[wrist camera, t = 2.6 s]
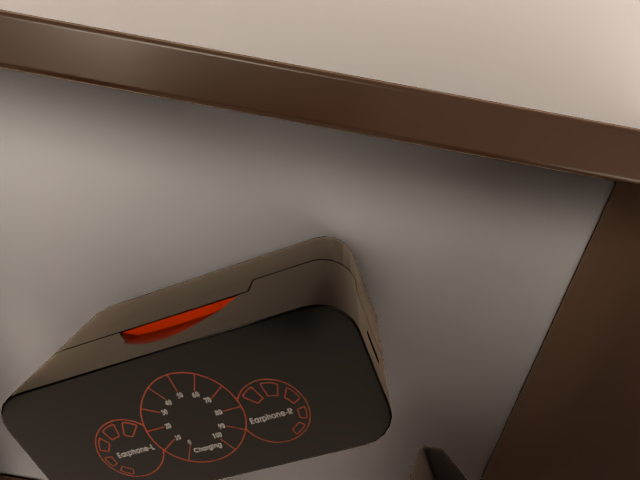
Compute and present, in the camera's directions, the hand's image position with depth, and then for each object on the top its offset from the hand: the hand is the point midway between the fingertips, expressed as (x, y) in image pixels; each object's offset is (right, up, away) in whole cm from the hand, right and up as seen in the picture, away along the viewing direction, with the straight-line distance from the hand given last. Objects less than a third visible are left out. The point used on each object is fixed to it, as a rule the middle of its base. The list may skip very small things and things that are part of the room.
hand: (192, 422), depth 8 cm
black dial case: (0, +1, +2) cm, 2 cm away
